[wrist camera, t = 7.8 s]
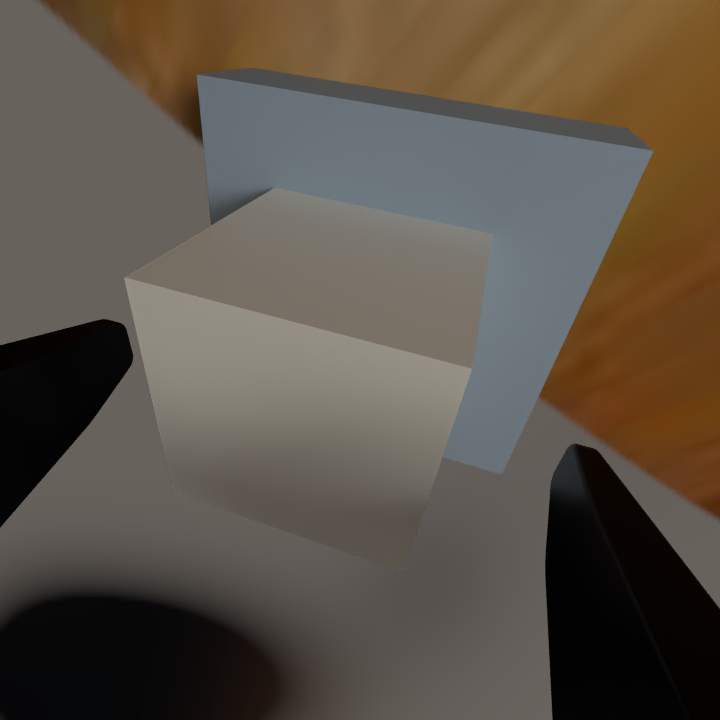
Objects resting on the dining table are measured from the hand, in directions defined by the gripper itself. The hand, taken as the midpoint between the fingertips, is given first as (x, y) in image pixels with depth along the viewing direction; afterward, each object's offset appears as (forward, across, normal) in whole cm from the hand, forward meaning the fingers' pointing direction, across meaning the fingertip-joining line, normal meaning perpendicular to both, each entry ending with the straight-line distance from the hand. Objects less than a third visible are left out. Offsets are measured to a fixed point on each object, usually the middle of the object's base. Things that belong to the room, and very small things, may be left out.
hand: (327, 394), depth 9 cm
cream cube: (+3, 0, 0) cm, 3 cm away
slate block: (+6, 0, 0) cm, 6 cm away
